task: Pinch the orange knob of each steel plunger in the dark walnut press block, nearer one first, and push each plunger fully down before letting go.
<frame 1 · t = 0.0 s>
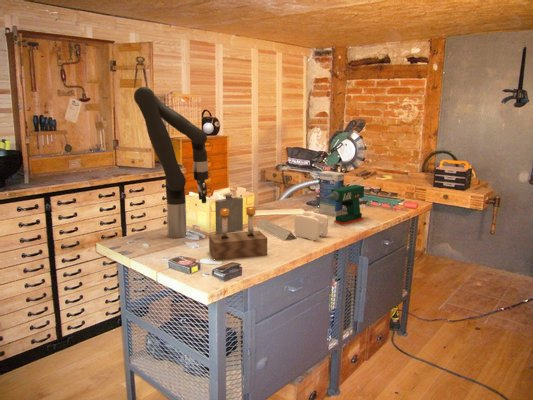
hand: (202, 201, 225), 17 cm above the table, tool pointing down, fingers open, 8 cm apart
string lights box: (330, 214, 270), on the table
beige rounded block: (310, 236, 226), on the table
power tool: (341, 223, 251), on the table
hip flask: (229, 231, 233), on the table
far plunger: (250, 223, 199), point 14 cm above the table, slide at 0.0 cm
corner bead: (275, 233, 232), on the table
press block: (238, 253, 200), on the table
near plunger: (224, 225, 195), point 14 cm above the table, slide at 0.0 cm
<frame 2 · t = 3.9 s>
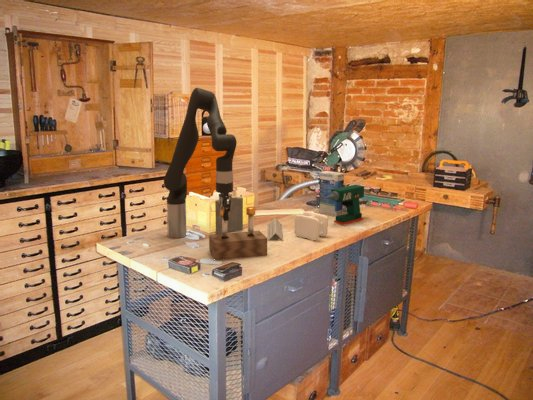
hand: (224, 218, 194), 17 cm above the table, tool pointing down, fingers closed on near plunger, 4 cm apart
near plunger: (224, 225, 195), point 13 cm above the table, slide at 0.0 cm, touching gripper
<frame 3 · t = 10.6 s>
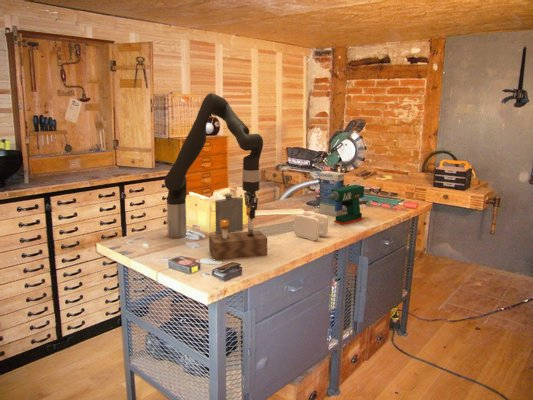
hand: (250, 216, 198), 17 cm above the table, tool pointing down, fingers closed on far plunger, 4 cm apart
far plunger: (250, 223, 199), point 13 cm above the table, slide at 0.0 cm, touching gripper
near plunger: (224, 236, 196), point 8 cm above the table, slide at 5.1 cm
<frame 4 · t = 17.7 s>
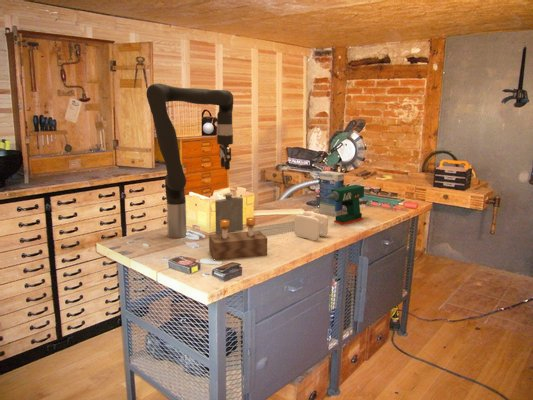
hand: (225, 168, 210), 36 cm above the table, tool pointing down, fingers open, 8 cm apart
far plunger: (250, 234, 200), point 8 cm above the table, slide at 5.1 cm
at the end: near plunger slide at 5.1 cm; far plunger slide at 5.1 cm; the gripper is holding nothing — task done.
